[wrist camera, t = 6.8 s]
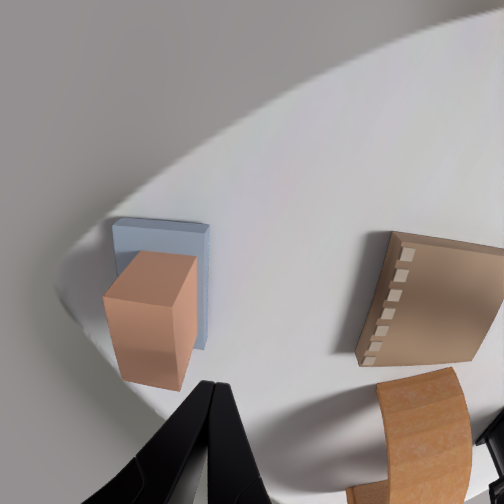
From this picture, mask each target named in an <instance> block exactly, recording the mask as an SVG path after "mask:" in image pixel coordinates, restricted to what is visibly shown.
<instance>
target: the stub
mask: <svg viewBox="0 0 504 504" xmlns="http://www.w3.org/2000/svg"><path fill="white" fill-rule="evenodd" d="M112 231H113V242H114V251H115V260H116V268H117V276H118V278H117V279H116V280H115V282H114V283H113V284H112V285H111V287H110V288H109V289H108V290H107V291H106V293H105V294H104V295H103V296H102V297H103V302H104V307H105V312H106V317H107V322H108V326H109V330H110V335H111V339H112V343H113V347H114V351H115V355H116V359H117V362H118V366H119V370H120V373H121V377H122V380H125V381H129V382H134V383H138V384H143V385H148V386H152V387H157V388H163V389H168V390H173V391H179V392H180V390H181V387H182V383H183V380H184V377H185V373H186V370H187V366H188V363H189V360H190V357H191V353H192V350H193V349H200V350H204V348H205V344H206V341H207V314H208V254H209V225H208V224H196V223H185V222H173V221H161V220H148V219H135V218H121V219H119V220H118V221H117V222H116V223H114V224H113V225H112Z"/></svg>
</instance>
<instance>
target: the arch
mask: <svg viewBox="0 0 504 504" xmlns="http://www.w3.org/2000/svg"><path fill="white" fill-rule="evenodd" d="M376 386H377V389H376V393H377V396H378V400H379V404H380V409H381V414H382V418H383V424H384V431H385V438H386V447H387V461H388V480H384V481H379V482H374V483H370V484H364V485H359V486H354V487H349V488H347V490H346V496H347V503H348V504H463V502H464V499H465V496H466V493H467V490H468V486H469V480H470V474H471V468H472V435H471V426H470V418H469V413H468V409H467V405H466V401H465V397H464V394H463V391H462V388H461V386H460V383H459V381H458V378H457V376H456V373H455V371H454V370H453V368H452V367H449V368H445V369H441V370H437V371H433V372H429V373H425V374H421V375H417V376H412V377H408V378H403V379H398V380H393V381H388V382H383V383H377V385H376Z"/></svg>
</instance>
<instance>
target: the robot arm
mask: <svg viewBox="0 0 504 504" xmlns="http://www.w3.org/2000/svg"><path fill="white" fill-rule="evenodd" d="M485 443H486V445H487V447H488V450H489V452H490V455H491V457H492V460H493V462H494V465H495V467H496V470H497V473H498V475H499V479H497V480H496V481H495V482H492V483H490V484H489V495H490V501H491V504H504V410H503V412H502V413H501V414H500V415H499V417H498V418H497V419H496V420H495V421H494V422H493V424H492V425H491V426H490V427H489V428H488V429H487V430H486V431H485V433H484V434H483V435H482V436H481V437H480V438H479V439H478V440H477V441H476V442H475V444H476V446H479V445H482V444H485ZM207 452H208V504H272V503H271V501H270V498H269V496H268V494H267V491H266V489H265V486H264V484H263V481H262V478H261V477H260V473H259V470H258V468H257V465H256V462H255V459H254V456H253V453H252V451H251V448H250V445H249V442H248V439H247V436H246V433H245V430H244V427H243V424H242V421H241V418H240V415H239V412H238V409H237V406H236V402H235V399H234V396H233V393H232V390H231V386H230V384H228V383H222V382H217V383H216V384H215V382H213V381H206V380H202V381H200V382H199V384H198V385H197V386H196V387H195V388H194V389H193V391H192V392H191V393H190V394H189V395H188V396H187V398H186V399H185V400H184V401H183V402H182V403H181V405H180V406H179V407H178V408H177V409H176V410H175V412H174V413H173V414H172V415H171V416H170V417H169V418H168V420H167V421H166V422H165V423H164V424H163V425H162V426H161V428H160V429H159V430H158V431H157V432H156V433H155V434H154V436H153V437H152V438H151V439H150V440H149V441H148V442H147V443H146V444H145V446H144V447H143V448H142V449H141V450H140V451H139V452H138V453H137V454H136V457H133V459H132V460H131V461H130V462H129V463H128V464H127V465H126V466H125V467H124V468H123V469H122V470H121V471H120V472H119V473H118V474H117V475H116V476H115V477H114V478H113V479H111V480H110V481H109V482H108V483H107V484H106V485H105V486H103V487H102V488H101V489H99V490H98V491H97V492H95V493H94V494H93V495H92V496H90V497H89V498H88V499H86V500H85V501H84V502H82V503H81V504H193V501H194V497H195V494H196V490H197V487H198V483H199V480H200V477H201V473H202V470H203V466H204V463H205V459H206V456H207Z"/></svg>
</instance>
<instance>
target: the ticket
mask: <svg viewBox="0 0 504 504" xmlns="http://www.w3.org/2000/svg"><path fill="white" fill-rule="evenodd" d="M503 299H504V249H501V248H496V247H490V246H484V245H479V244H473V243H467V242H461V241H455V240H448V239H442V238H436V237H429V236H422V235H416V234H409V233H402V232H395V231H392V233H391V237H390V241H389V245H388V249H387V253H386V257H385V260H384V264H383V267H382V271H381V274H380V278H379V281H378V284H377V288H376V291H375V294H374V297H373V301H372V304H371V307H370V310H369V313H368V316H367V319H366V322H365V325H364V327H363V330H362V333H361V336H360V339H359V341H358V344H357V347H356V349H355V354H356V357H357V361H358V364H359V367H382V366H413V365H431V364H445V363H457V362H467V361H472V359H473V358H474V356H475V354H476V353H477V351H478V349H479V347H480V345H481V344H482V342H483V340H484V338H485V336H486V334H487V332H488V330H489V329H490V327H491V325H492V323H493V321H494V319H495V317H496V314H497V312H498V310H499V308H500V306H501V304H502V302H503Z"/></svg>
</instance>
